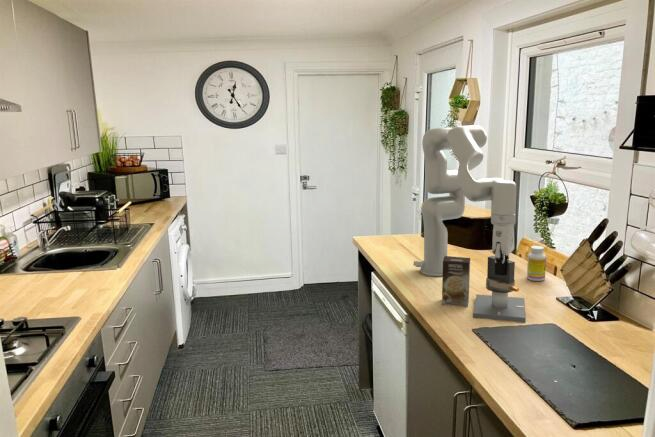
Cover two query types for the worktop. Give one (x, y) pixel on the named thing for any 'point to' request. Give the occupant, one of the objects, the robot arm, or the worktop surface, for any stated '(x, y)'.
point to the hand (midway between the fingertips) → (501, 272)
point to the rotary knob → (501, 277)
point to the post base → (505, 312)
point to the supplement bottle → (536, 264)
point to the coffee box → (456, 281)
